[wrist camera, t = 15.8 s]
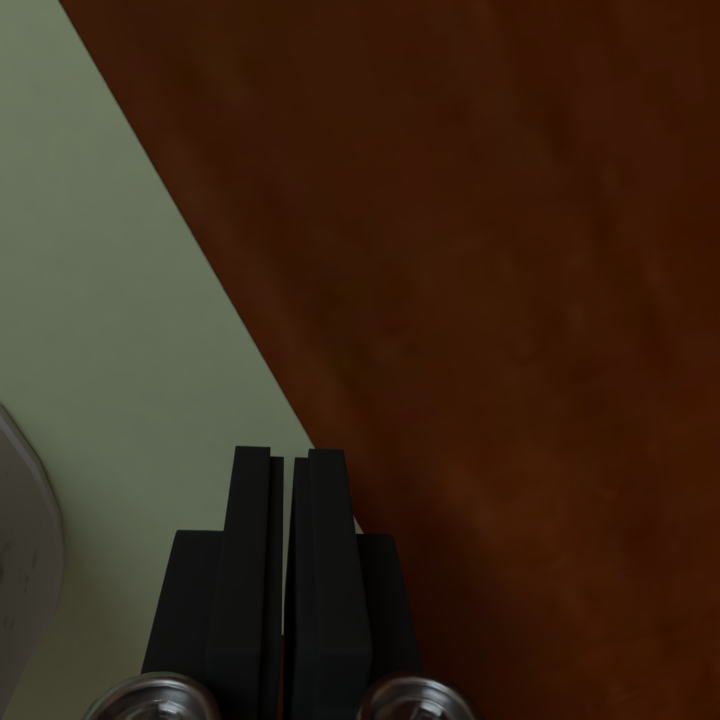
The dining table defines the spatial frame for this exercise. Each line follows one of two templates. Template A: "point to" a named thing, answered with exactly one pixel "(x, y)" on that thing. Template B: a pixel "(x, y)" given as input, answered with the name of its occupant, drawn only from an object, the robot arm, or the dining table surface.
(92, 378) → the edge mat
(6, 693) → the grey can
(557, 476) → the dining table surface
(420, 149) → the dining table surface
